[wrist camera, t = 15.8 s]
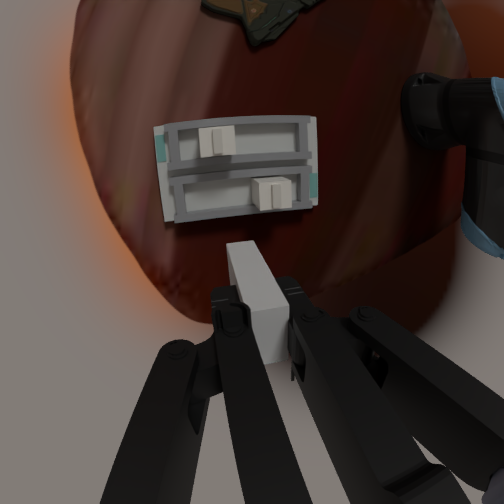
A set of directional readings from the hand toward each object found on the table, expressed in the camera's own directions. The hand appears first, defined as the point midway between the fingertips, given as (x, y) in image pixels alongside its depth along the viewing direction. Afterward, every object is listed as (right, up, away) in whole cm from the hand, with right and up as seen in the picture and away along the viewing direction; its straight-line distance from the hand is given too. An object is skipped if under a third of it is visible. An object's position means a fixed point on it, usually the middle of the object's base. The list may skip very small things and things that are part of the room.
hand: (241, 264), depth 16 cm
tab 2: (+2, +9, +22) cm, 24 cm away
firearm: (+5, +43, +11) cm, 45 cm away
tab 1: (-4, +15, +18) cm, 24 cm away
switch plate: (-1, +13, +21) cm, 25 cm away
